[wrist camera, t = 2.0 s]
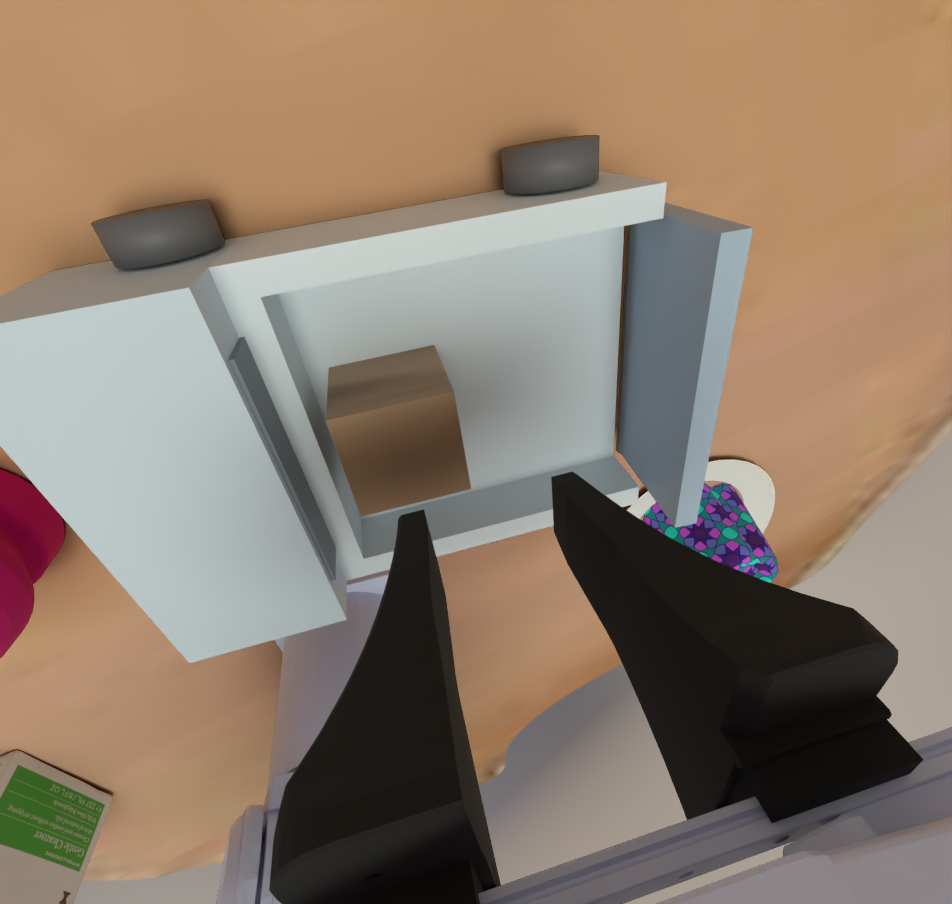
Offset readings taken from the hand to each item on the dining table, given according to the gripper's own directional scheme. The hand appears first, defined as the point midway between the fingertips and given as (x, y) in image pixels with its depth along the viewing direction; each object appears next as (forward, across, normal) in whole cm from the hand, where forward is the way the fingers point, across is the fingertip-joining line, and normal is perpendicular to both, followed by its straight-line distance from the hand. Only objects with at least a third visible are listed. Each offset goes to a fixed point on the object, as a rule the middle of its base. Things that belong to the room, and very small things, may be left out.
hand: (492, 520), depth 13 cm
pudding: (+10, -14, +15) cm, 23 cm away
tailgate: (+6, -9, 0) cm, 11 cm away
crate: (+8, +2, 0) cm, 8 cm away
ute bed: (+10, +2, 0) cm, 10 cm away
